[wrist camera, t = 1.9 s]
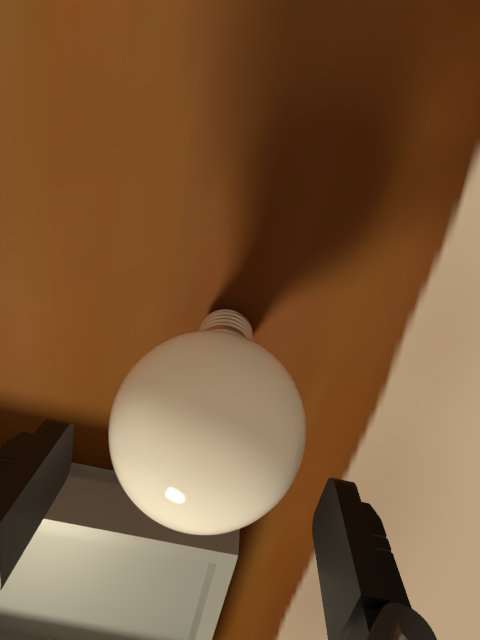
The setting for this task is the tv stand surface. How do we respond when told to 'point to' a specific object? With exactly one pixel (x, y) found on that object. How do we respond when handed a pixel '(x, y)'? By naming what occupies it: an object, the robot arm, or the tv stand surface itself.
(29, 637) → the tray
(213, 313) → the lightbulb
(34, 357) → the tv stand surface
